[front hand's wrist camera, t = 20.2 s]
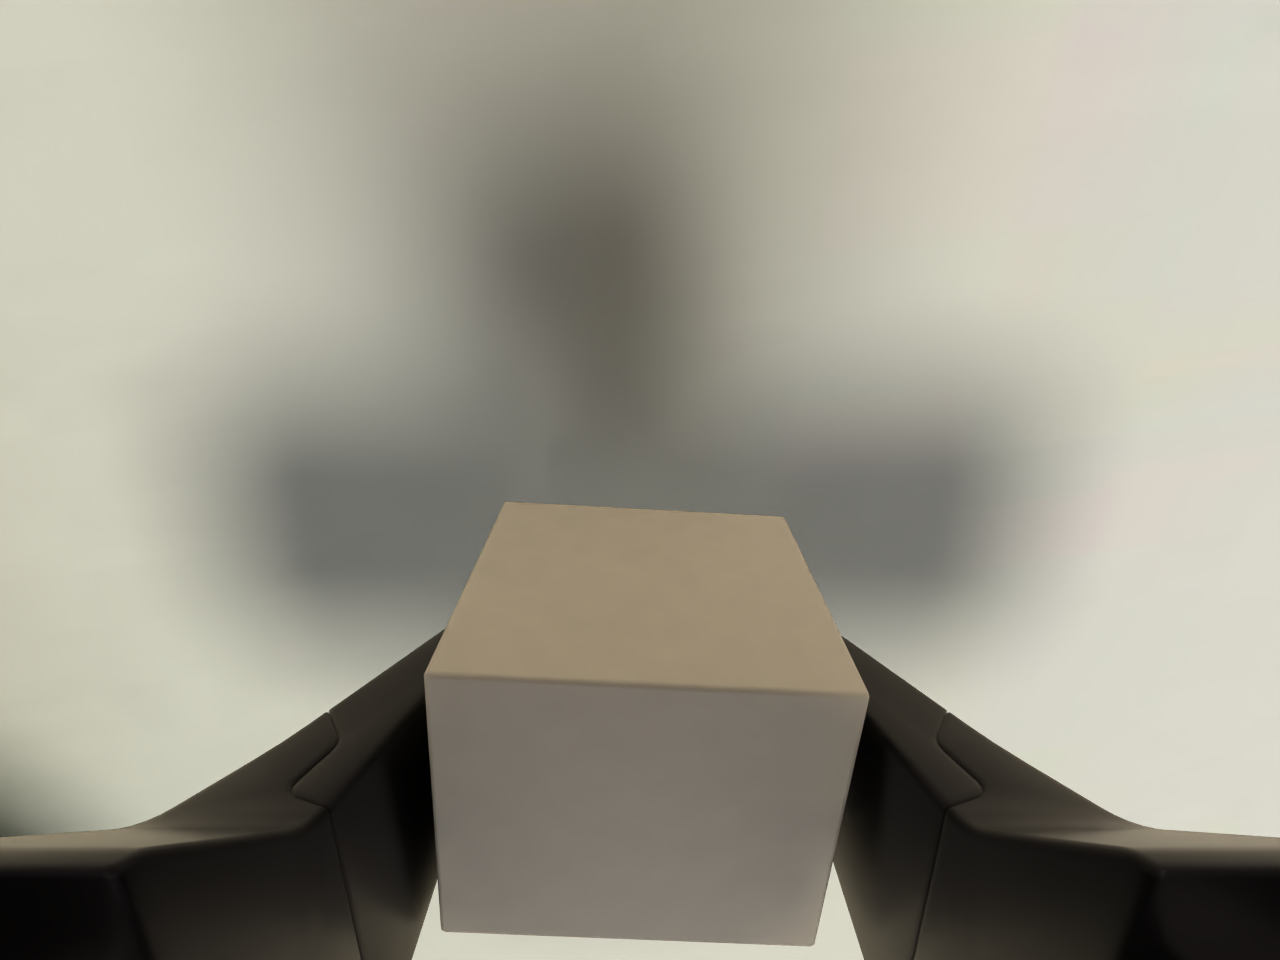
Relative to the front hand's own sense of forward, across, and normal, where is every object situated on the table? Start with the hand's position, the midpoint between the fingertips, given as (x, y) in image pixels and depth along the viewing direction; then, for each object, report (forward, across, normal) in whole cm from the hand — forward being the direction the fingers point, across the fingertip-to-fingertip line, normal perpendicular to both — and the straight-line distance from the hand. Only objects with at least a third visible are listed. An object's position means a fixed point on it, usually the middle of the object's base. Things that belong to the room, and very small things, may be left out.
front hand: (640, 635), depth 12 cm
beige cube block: (+1, 0, 0) cm, 1 cm away
